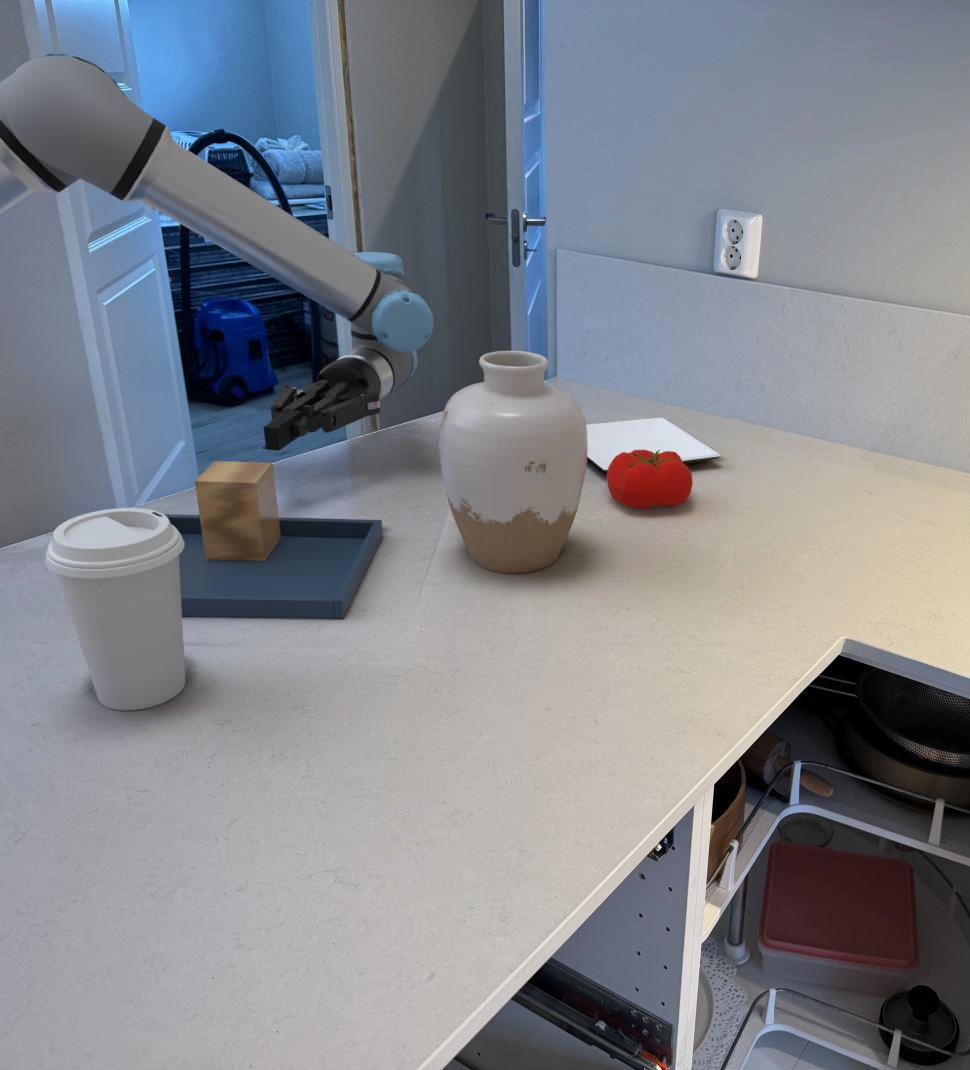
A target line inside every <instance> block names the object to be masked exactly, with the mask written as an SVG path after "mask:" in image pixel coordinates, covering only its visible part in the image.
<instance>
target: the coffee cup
mask: <svg viewBox="0 0 970 1070" xmlns="http://www.w3.org/2000/svg"><path fill="white" fill-rule="evenodd" d="M164 514H165V513H162V512H159V511H157V510H153V509H148V508H141V507H140V508H139V507H118V508H117V507H116V508H108V509H101V510H97V511H92V512H87V513H83V514H81V515H77V516H74V517H72V518H69V519H68V520H65V521H64V522H62V523H61V524H59V525H58V526H57V527H55V529H54V530H53V533H52V537H51V538H52V540H51V541H49V544H47V545H48V546H47V549H46V552H45V558H44V559H45V562H44V563H45V565H46V567H47V568H48V570H50V571H51V572H53V573H54V574H56V577H57V580H58V582H59V585H60V589H61V591H62V594H63V597H64V600H65V604H66V606H67V609H68V612H69V615H70V619H71V622H72V625H73V627H74V631H75V633H76V636H77V639H78V642H79V645H80V648H81V651H82V654H83V657H84V660H85V663H86V666H87V669H88V673H89V675H90V679H91V681H92V684H93V687H94V690H95V694H96V696H97V700H98V701H99V703H100V704H101V705H102V706H103V707H106V708H108V709H111V710H115V711H138V710H145V709H149V708H153V707H156V706H159V705H162V704H164V703H166V702H168V701H170V700H172V699H173V698H175V697H177V696H178V695H179V694H180V693H181V692H182V691H183V689H184V688H185V686H186V664H185V646H184V630H183V629H184V628H183V626H184V625H183V617H182V608H181V589H180V568H179V554H180V553H181V552H182V550H183V548H184V545H185V543H184V540H183V538H182V536H181V534H180V533H179V531H178V530H177V528H176V527H174V526H173V525H172V524H171V523H170V521H169V519H168V518H167V516H165V515H164Z"/></svg>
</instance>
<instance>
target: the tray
mask: <svg viewBox="0 0 970 1070" xmlns="http://www.w3.org/2000/svg"><path fill="white" fill-rule="evenodd" d="M163 514H164V515H165V516H167V518H168V519H169V521H170V523H171V524H172V525H173V526H174V527H176V528H177V530H178V531H179V533H180V534H181V536H182V538H183V540H184V543H185V545H184V548H183V550H182V552H181V553H180V554H179V568H180V589H181V608H182V618H215V619H216V618H218V619H219V618H220V619H222V618H223V619H225V618H226V619H285V620H286V619H287V620H288V619H289V620H290V619H291V620H293V619H294V620H298V619H299V620H344V619H345V618H346V615H347V613H348V611H349V610H350V609H349V608H350V607H351V604H352V602H353V600H354V598H355V596H356V594H357V592H358V590H359V587H360V585H361V584H362V582H363V579H364V577H365V575H366V573H367V572H368V568H369V567H370V564H371V562H372V560H373V558H374V556H375V554H376V552H377V549H378V548H379V546H380V543H381V541H382V539H383V536H384V535H383V534H384V533H383V520H382V519H360V518H359V519H358V518H357V519H356V518H355V519H354V518H321V517H320V518H318V517H287V516H286V517H284V516H282V517H280V516H279V524H280V533H281V539H280V540H279V541H278V543H277V544H276V546H275V547H274V549H273V550H272V551H271V553H270V554H269V556H268V557H267V559H266V560H265V561H245V560H206V556H205V549H204V542H203V536H202V529H201V522H200V515H199V514H173V513H171V514H170V513H163Z"/></svg>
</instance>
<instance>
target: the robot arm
mask: <svg viewBox="0 0 970 1070" xmlns="http://www.w3.org/2000/svg"><path fill="white" fill-rule="evenodd" d="M78 180H82V181H84V182H86V183H88V184H90V185H92V186H94V187H96V188H98V189H100V190H102V191H103V192H106V193H107V194H109V195H111V196H113V197H115V198H117V199H118V200H119V201H121V202H123V203H131V202H142V203H144V204H145V205H146V206H149V207H150V208H152V209H154V210H156V211H157V212H159V213H161V214H162V215H164V216H166V217H168V218H170V219H171V220H172V221H174V222H176V223H178V224H180V225H181V226H184V227H185V228H187V229H189V230H190V231H192V232H194V233H195V234H197V235H199V236H201V237H203V238H204V239H206V240H208V241H209V242H211V243H213V244H215V245H217V246H219V247H220V248H222V249H224V250H225V251H227V252H228V253H230V254H232V255H234V256H236V257H237V258H239V259H241V260H243V261H244V262H246V263H248V264H249V265H251V266H253V267H255V268H256V269H258V270H260V271H262V272H263V273H265V274H267V275H269V276H270V277H272V278H273V279H275V280H277V281H279V282H281V283H282V284H284V285H286V286H287V287H290V288H291V289H293V290H295V291H296V292H298V293H300V294H302V295H303V296H305V297H306V298H309V299H310V300H312V301H314V302H316V303H317V304H319V305H321V306H323V307H324V308H326V309H327V310H329V311H331V312H333V313H334V314H336V315H338V316H340V317H341V318H343V319H345V320H347V321H348V322H350V335H351V336H350V337H351V348H352V350H351V351H350V352H348V353H346V354H344V355H343V356H341V357H339V358H337V359H336V360H334V361H332V362H331V363H329V364H327V365H326V366H324V367H323V368H322V369H321V370H320V371H319V373H318V375H317V377H316V379H315V380H314V382H313V383H308V384H306V385H304V386H303V388H302V389H298V388H297V387H296V386H292V385H290V384H288V383H285V384H282V385H280V390H281V392H280V393H279V394H278V396H277V397H276V398H275V399H274V400H273V402H272V403H271V405H270V406H269V407H270V413H271V414H270V416H271V420H270V421H269V422H268V423H267V424H265V425H264V426H263V434H264V443H265V444H264V445H265V450H266V451H267V450H268V451H276V452H279V451H281V450H282V449H284V448H286V446H288V445H290V444H291V443H292V442H294V441H295V440H297V439H298V438H301V437H305V436H306V435H307V434H309V433H315V432H317V431H319V430H321V429H322V431H323V432H324V433H331V432H334V431H337V430H339V429H341V428H343V427H345V426H348V425H350V424H353V423H355V422H358V421H360V420H362V419H364V418H367V417H370V416H375V415H379V414H381V400H383V399H384V398H386V397H387V396H388V395H390V394H391V393H393V392H394V391H396V390H397V389H399V388H401V387H403V386H404V385H405V384H407V382H408V381H409V379H410V378H411V377H412V376H413V375H414V373H415V372H416V370H417V367H418V354H417V351H416V350H418V349H419V348H421V347H423V346H424V345H425V344H426V343H427V342H428V341H429V339H430V338H431V335H432V333H433V330H434V316H433V313H432V310H431V308H430V307H429V305H428V304H427V302H426V301H425V300H424V298H423V297H422V296H421V295H419V294H418V293H416V292H415V291H413V290H411V289H410V287H409V286H408V285H406V284H405V278H406V274H405V272H404V265H403V260H402V258H401V257H400V256H399V255H397V254H393V253H391V252H381V251H363V252H362V251H361V252H355V253H352V252H351V251H349V250H348V249H346V248H344V247H343V246H342V245H340V244H338V243H337V242H335V241H333V240H331V239H330V238H329V237H327V236H325V235H324V234H322V233H320V232H319V231H317V230H316V229H314V228H313V227H311V226H309V225H308V224H306V223H305V222H303V221H301V220H300V219H298V218H297V217H295V216H293V214H290V213H289V212H287V211H285V210H283V209H282V208H280V207H279V206H278V205H276V204H274V203H273V202H271V201H270V200H269V199H266V198H265V197H263V196H262V195H260V194H259V193H257V192H255V191H254V190H252V189H250V188H249V187H247V186H245V185H244V184H243V183H241V182H239V181H237V180H236V178H235V179H234V178H233V177H232V176H230V175H228V174H227V173H225V172H223V170H220V169H219V168H217V167H215V166H214V165H212V164H211V163H209V162H207V161H206V160H204V159H202V158H201V157H200V156H198V155H196V154H195V153H193V152H192V151H190V150H189V149H186V148H185V147H183V146H182V145H180V144H179V143H177V142H176V141H175V140H174V138H173V135H172V133H171V129H170V127H169V126H167V125H166V124H164V123H163V122H161V121H159V120H158V119H157V118H155V117H153V116H152V115H150V114H149V113H147V112H146V111H144V109H142V108H141V107H139V106H138V105H137V104H136V103H134V101H132V100H131V99H130V98H128V97H127V95H126V93H125V92H124V91H123V90H122V88H121V87H120V85H119V84H118V82H117V80H116V79H114V78H113V77H112V76H111V75H110V74H109V73H108V72H107V71H106V70H105V69H103V68H102V67H100V66H99V65H97V64H96V63H95V62H92V61H90V60H88V59H86V58H84V57H81V56H78V55H75V54H67V53H62V52H61V53H60V52H59V53H46V54H43V55H39V56H37V57H35V58H32V59H30V60H28V61H26V62H24V63H23V64H22V65H20V66H19V67H18V68H17V69H15V71H13V73H12V74H11V75H9V76H7V77H6V78H5V79H3V80H1V81H0V215H1V214H3V213H4V212H5V211H7V210H8V209H10V208H12V207H13V206H15V205H16V204H18V203H19V202H20V201H22V200H23V199H25V198H26V197H28V196H29V195H30V194H32V193H34V192H42V193H48V194H54V195H58V194H60V193H61V192H62V191H65V189H66V188H68V187H70V186H71V185H73V184H74V183H75V182H77V181H78Z"/></svg>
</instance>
